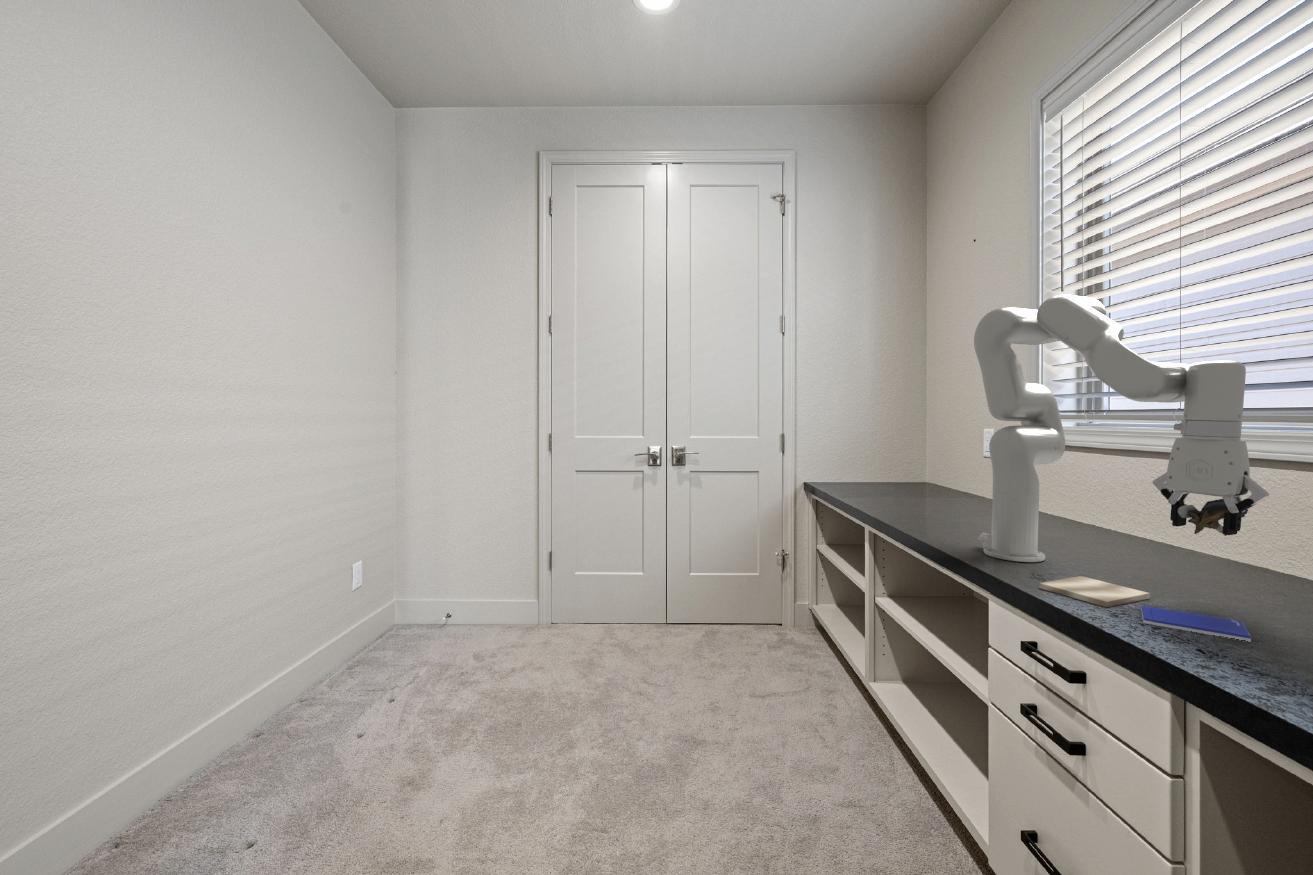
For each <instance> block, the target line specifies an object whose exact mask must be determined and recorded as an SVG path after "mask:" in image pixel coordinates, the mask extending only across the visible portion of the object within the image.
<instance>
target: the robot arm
mask: <svg viewBox="0 0 1313 875" xmlns="http://www.w3.org/2000/svg"><path fill="white" fill-rule="evenodd" d="M1124 334H1125V332H1124V328H1123V326H1122V325H1120V324H1119V323H1117V322H1115V321H1114V320H1112V319H1111V318H1109V317H1107V310H1106V307H1105V306H1104V304H1102V302H1101V301H1099V300H1098V299H1096V298H1093V297H1088V296H1080V295H1072V294H1059V295H1058V294H1057V295H1055V296H1052V297H1049V298H1047V299H1046V300H1044V301H1043V302H1042V303H1041V304H1040V305H1039V306H1038V309H1032V308H1023V307H1022V308H1021V307H1011V306H1010V307H1000V308H996V309H993V310H991V311H989V312H988V313H986V314H984V316H983V317H981V319H980V321H979V322H978V324H977V326H976V328H975V332H974V334H973V347H974V351H975V355H976V358H977V361H978V363H979V367H980V373H981V375H982V376H981V378H982V383H983V387H984V392H985V398H986V401H987V406H988V411H989V413H990V414H991V417H993V418H994V419H996V420H999V421H1002V422H1004V421H1005V422H1020V425H1008V426H1004V427H1002V428H1000V429H998V430H996V431H995V432H994V433H993V435H992V436H991V437H990V440H989V446H988V449H989V455H990V456H989V457H990V462H991V468H992V501H991V502H992V503H991V504H992V505H991V506H992V507H991V533H987V532H981V533H980V535H979V536H978V537H977V540H978V541H979V542H985V543H986V546H985V547H984V548H983V553H984V554H985V555H987V556H989V557H992V558H995V559H999V560H1005V561H1009V562H1010V561H1012V562H1019V563H1039V562H1044V561H1045V560H1046V554H1045V553H1044V552H1042V551H1039V550H1038V548H1039V547H1038V542H1039V540H1038V539H1039V514H1040V513H1039V512H1040V511H1039V510H1040V508H1039V507H1040V480H1039V476H1038V473H1037V471H1036V468H1035V466H1037V465H1038V466H1039V465H1049V464H1053V463H1055V462H1057V461H1058V460H1060V459H1061V458H1062V456H1063V454H1064V453H1065V450H1066V438H1065V432H1064V428H1063V423H1062V418H1061V414H1060V411H1059V410H1060V409H1059V406H1058V402H1057V399H1056V396H1055V395H1054V393H1053V392H1052V391H1051V389H1049V388H1048V387H1047V386H1045V385H1043V384H1040V383H1037V382H1034V383H1033V382H1027V381H1026V379H1025V377H1024V373H1023V369H1022V368H1023V367H1022V363H1021V361H1020V359H1019V357H1018V355H1017V354H1016V353H1015V351H1014V350H1013V348H1012V347H1011V345H1012V344H1015V345H1030V346H1033V345H1035V346H1037V345H1045V344H1052V343H1056V342H1061V343H1063V344H1064V345H1066V346H1067V347H1069V348H1070V349H1071V350H1073V351H1074V352H1075V353H1077V354H1078V355H1080V356H1081V357H1083V358H1084V359H1085V363H1086V365H1087V367H1088V368H1089V370H1090V371H1091V373H1092V374H1093V375H1094V377H1096V378H1097V379H1098V380H1099V381H1100V382H1102V383H1103V384H1104V385H1106V386H1108V387H1109V388H1110V389H1112V390H1113V391H1115V392H1116V393H1118V394H1119V395H1121V396H1122V397H1124V398H1126V399H1128V400H1132V401H1135V402H1139V403H1141V402H1142V403H1171V404H1172V403H1181V402H1184V403H1183V404H1184V405H1183V416H1182V417H1183V419H1182V420H1181V422H1178V423H1174V425H1173V430H1174V431H1179V432H1180V435H1181V436H1180V437H1177V436H1176V437H1175V439H1174V441H1173V444H1172V447H1171V450H1170V455H1169V457H1168V458H1169V459H1168V462H1167V463H1168V464H1167V470H1166V472H1165V473H1164V474H1161V475H1160V476H1158V477H1156V478H1155V479H1153V480H1152V484H1153V485H1154V487H1155V488H1156V489H1157V490H1158V491H1159V492H1160V494H1161V495H1162V496H1163V497H1164V498H1165V499H1166V500H1167V502H1168V503H1169V505H1171V506H1170V517H1169V518H1170V521H1172V522H1171V525H1172V526H1173V527H1176V528H1177V527H1182V526H1183V527H1184V526H1186V525H1187V519H1188V518H1182V517H1180V516H1179V513H1178V508H1180V507H1182V506H1185V505H1188V504H1187V503H1185V501H1186V500H1187V499H1188V497H1189V496H1190V494H1195V495H1204V496H1205V495H1206V496H1213V497H1222V498H1221V499H1223V500H1224V502H1225V504H1226V506H1227V508H1228V512H1225V513H1224V519H1223V522H1222V526H1223V534H1222V535H1223V536H1225V535H1226V536H1233V535H1234V536H1235V535H1237V534H1238V532H1240V530H1241V528H1242V518H1243V517H1242V512H1245V511H1246V510H1247V509H1248V510H1249V509H1251V508H1252V507H1254V506H1255V505H1257V504H1258V503H1260V502H1262V501H1263V500H1265V499H1267V498H1268V497H1269V496H1270V493H1269V492H1268V491H1267V490H1266V489H1264V488H1263V487H1262V486H1261V485H1259V484H1258V483H1257V482H1256V481H1255V480H1253V479H1252V478H1251V477H1250V476H1251V475H1250V474H1251V473H1250V471H1251V469H1250V458H1249V451H1248V446H1247V445H1248V444H1247V441H1246V440H1245V439H1242V428H1243V427H1242V424H1243V412H1244V401H1245V389H1246V388H1245V387H1246V375H1247V372H1246V370H1247V368H1246V366H1245V364H1244V363H1242V362H1241V361H1236V360H1235V361H1234V360H1212V361H1200V362H1199V361H1198V362H1193V363H1192V364H1188V363H1178V362H1177V363H1175V362H1166V361H1165V362H1162V361H1161V362H1160V361H1150V360H1148V359H1146V358H1145V357H1142V356H1140V355H1139V354H1137V353H1136V352H1134V351H1133V350H1132V349H1130V348H1128V347H1127V346H1126V345H1125V344H1123V343H1122V340H1123V338H1124ZM1248 492H1250V493H1251V495H1249V496H1248V497H1247V498H1244V499H1242V498H1241V496H1244V495H1247V494H1248ZM1241 517H1242V518H1241Z"/></svg>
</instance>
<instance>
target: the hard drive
mask: <svg viewBox="0 0 1313 875" xmlns="http://www.w3.org/2000/svg"><path fill="white" fill-rule="evenodd" d="M1140 612H1141V618H1142V623H1143V624H1146V625H1147V624H1148V625H1153V626H1159V627H1162V628H1163V627H1164V628H1170V629H1174V630H1180V629H1181V631H1185V632H1191V631H1192V633H1196V632H1197V633H1198V634H1202V633H1203V634H1204V635H1208V636H1213V635H1215V636H1214V637H1219V636H1222V637H1221V638H1225V637H1228V638H1227V639H1230V638H1235V639H1234V640H1236V639H1239V640H1238V641H1241V640H1246V641H1245V642H1247V641H1248V642H1249V643H1251V642H1252V636H1251V634H1250V632H1249V631H1248V629H1247V628H1246V626H1245V625H1244V623H1243V621H1242V620H1236V619H1230V618H1223V617H1217V616H1211V615H1206V614H1205V615H1204V614H1199V613H1193V612H1185V611H1179V610H1174V609H1173V610H1172V609H1166V608H1162V607H1155V606H1148V605H1141V606H1140ZM1203 634H1202V635H1203ZM1223 636H1224V637H1223Z"/></svg>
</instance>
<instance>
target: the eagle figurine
mask: <svg viewBox="0 0 1313 875" xmlns="http://www.w3.org/2000/svg"><path fill="white" fill-rule="evenodd" d="M1225 512H1228V508H1227V506H1226V504H1225V502H1224V500H1223V498H1220V499H1215V500H1207V501H1206V503H1204V505H1203V506H1202V507H1201V509H1200V510H1198V509H1197V508H1196V507H1195V505H1192V504H1187V505H1185V506H1182V507H1180V508H1178V513H1179V516H1180V517H1182V518H1187V519H1188V520H1187V523H1190V524H1194V526H1195V530H1194V533H1193V534H1194V535H1198V534H1199V533H1200V532H1202V531H1203V530H1204V529H1212V530H1215V531H1217V532H1218V533H1220V534H1222V535H1224V534H1223V525H1221V524H1220V522H1219V521H1221V520H1224V513H1225ZM1248 512H1249V509H1247V510H1246V511H1245V512H1242V517H1241V519H1242V518H1245V516H1246V515H1247V514H1248ZM1226 536H1227V535H1224V537H1226Z"/></svg>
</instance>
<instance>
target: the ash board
mask: <svg viewBox="0 0 1313 875" xmlns="http://www.w3.org/2000/svg"><path fill="white" fill-rule="evenodd" d="M1038 588H1039V589H1040V590H1041V589H1042V590H1045V591H1048V592H1052V593H1056V594H1058V595H1063V596H1065V597H1070V598H1072V599H1077V600H1079V601H1084V602H1086V603H1090V604H1094V605H1097V606H1101V607H1105V608H1109V607H1110V608H1111V607H1114V606H1116V607H1117V606H1119V605H1123V604H1129V603H1135V602H1140V601H1144V600H1148V599H1150V597H1151V593H1150V592H1147V591H1143V590H1139V589H1134V588H1130V587H1127V586H1123V585H1118V584H1114V583H1110V582H1107V581H1103V580H1098V579H1094V578H1091V577H1086V576H1082V575H1079V576H1074V577H1068V578H1061V579H1055V580H1048V581H1044V582H1039V583H1038Z"/></svg>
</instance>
